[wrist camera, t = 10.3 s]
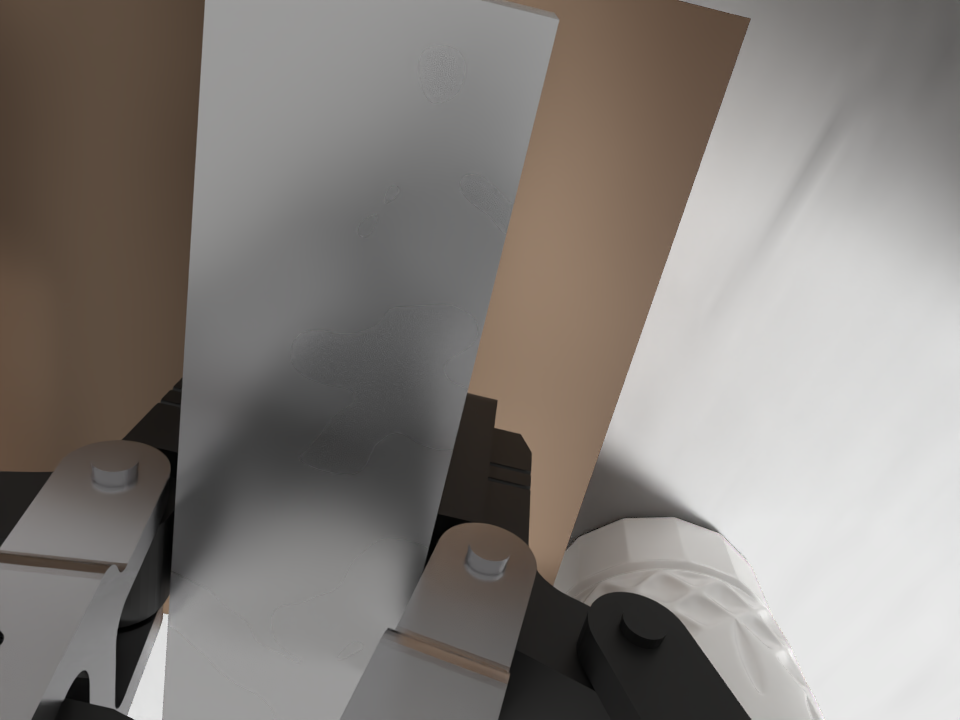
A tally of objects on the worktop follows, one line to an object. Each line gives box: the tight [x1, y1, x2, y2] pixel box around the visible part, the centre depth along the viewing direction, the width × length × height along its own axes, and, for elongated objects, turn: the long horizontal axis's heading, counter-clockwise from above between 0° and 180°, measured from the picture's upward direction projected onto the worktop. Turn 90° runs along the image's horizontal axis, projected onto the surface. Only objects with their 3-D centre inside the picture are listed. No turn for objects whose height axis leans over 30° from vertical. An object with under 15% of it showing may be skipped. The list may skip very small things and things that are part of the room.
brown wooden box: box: [0, 0, 751, 614], centre depth 17 cm, size 12×15×6 cm
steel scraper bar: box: [162, 0, 559, 720], centre depth 12 cm, size 3×14×5 cm, turn 167°
